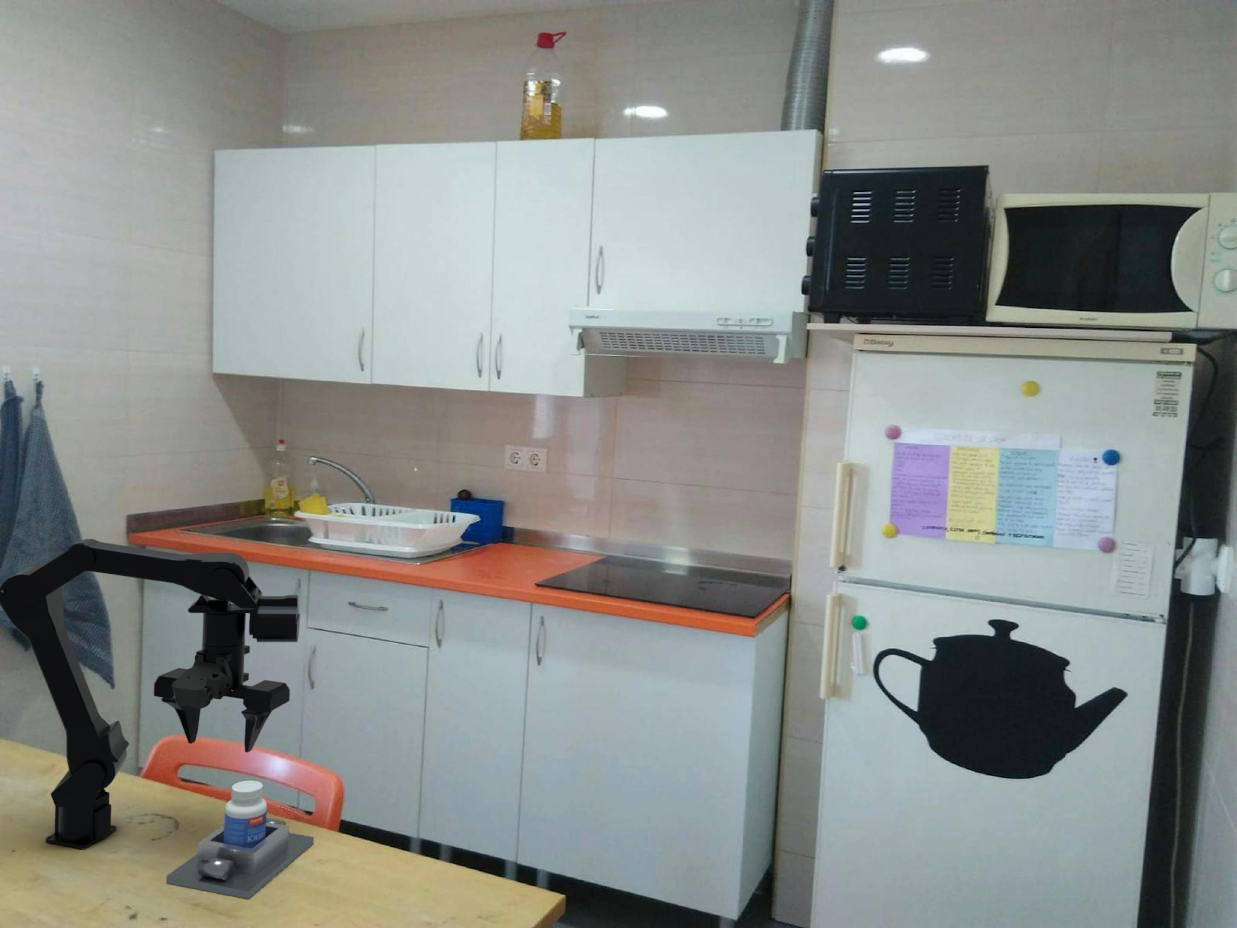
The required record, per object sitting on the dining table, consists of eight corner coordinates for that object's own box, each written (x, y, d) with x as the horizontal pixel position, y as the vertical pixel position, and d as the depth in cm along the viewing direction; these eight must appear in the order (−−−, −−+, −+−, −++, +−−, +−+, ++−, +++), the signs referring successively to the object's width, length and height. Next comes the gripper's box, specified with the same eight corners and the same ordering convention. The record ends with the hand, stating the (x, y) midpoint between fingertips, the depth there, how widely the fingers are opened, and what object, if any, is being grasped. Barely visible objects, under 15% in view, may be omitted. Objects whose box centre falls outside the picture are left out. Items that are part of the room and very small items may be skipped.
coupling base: (166, 882, 126) (167, 853, 126) (239, 830, 142) (240, 803, 142) (248, 898, 124) (249, 868, 124) (313, 843, 139) (314, 816, 139)
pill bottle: (250, 867, 130) (253, 796, 129) (214, 861, 131) (217, 791, 130) (272, 849, 135) (275, 781, 134) (237, 843, 136) (240, 775, 135)
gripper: (127, 647, 133) (124, 757, 135) (249, 664, 130) (244, 777, 131) (180, 629, 144) (177, 731, 146) (293, 644, 141) (289, 748, 142)
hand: (219, 747), depth 141 cm, fingers open, 9 cm apart
